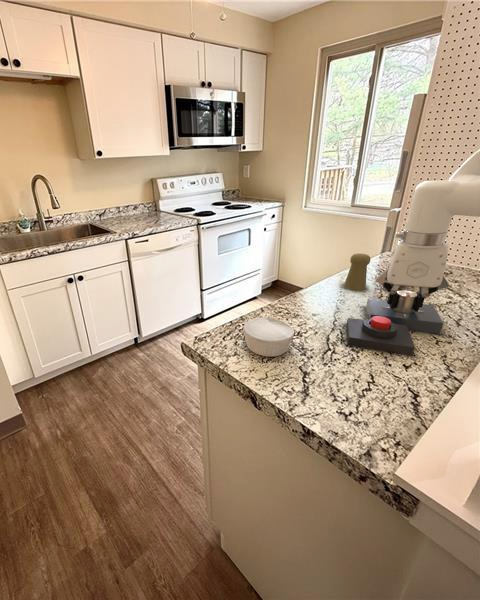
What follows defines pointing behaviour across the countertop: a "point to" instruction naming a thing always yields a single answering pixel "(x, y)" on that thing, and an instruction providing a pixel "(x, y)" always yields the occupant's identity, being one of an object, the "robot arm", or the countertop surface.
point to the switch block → (379, 336)
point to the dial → (405, 301)
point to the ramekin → (268, 336)
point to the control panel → (407, 316)
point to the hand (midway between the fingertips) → (403, 307)
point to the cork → (357, 272)
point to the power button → (380, 322)
